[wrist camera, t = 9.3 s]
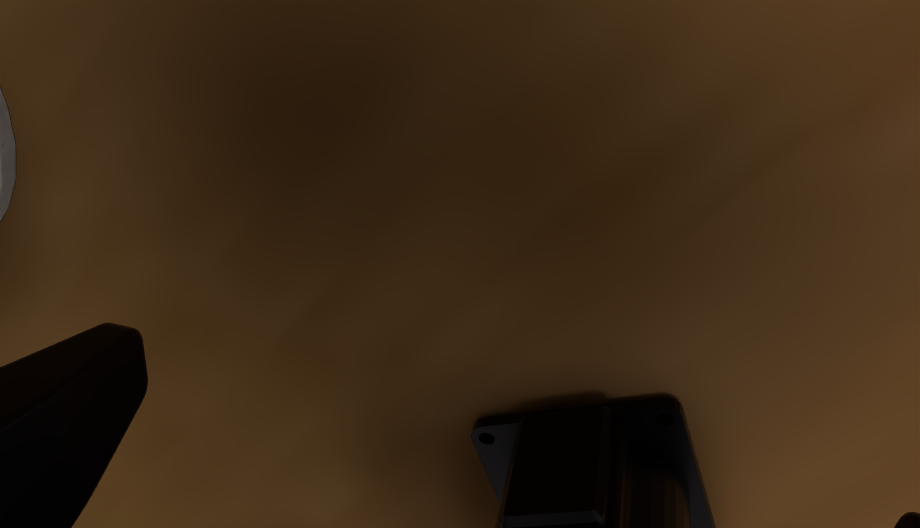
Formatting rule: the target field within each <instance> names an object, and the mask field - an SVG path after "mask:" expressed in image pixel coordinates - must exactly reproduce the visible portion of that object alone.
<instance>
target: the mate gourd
mask: <svg viewBox="0 0 920 528" xmlns="http://www.w3.org/2000/svg"><path fill="white" fill-rule="evenodd" d="M15 180H16V144H15V140H14V135H13V130H12V125H11V121H10V116H9V111H8V106H7V104H6V101H5V99H4V96H3V94H2V91H1V89H0V221H1V219H2V218H3V216H4V214H5V213H6V211H7V209H8V208H9V205H10V200H11V196H12V192H13V188H14V184H15Z"/></svg>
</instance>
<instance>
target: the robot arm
mask: <svg viewBox="0 0 920 528" xmlns="http://www.w3.org/2000/svg"><path fill="white" fill-rule="evenodd" d="M147 385H148V375H147V368H146V360H145V352H144V345H143V339H142V335H141V334H140V332H139V331H138V330H136V329H135V328H131V327H127V326H122V325H118V324H114V323H104V324H101V325H98V326H96V327H93V328H91V329H89V330H86V331H84V332H82V333H79V334H77V335H75V336H72V337H70V338H68V339H65V340H63V341H61V342H58V343H56V344H54V345H51V346H49V347H47V348H44V349H42V350H40V351H37V352H35V353H33V354H30V355H28V356H26V357H23V358H21V359H19V360H16V361H14V362H12V363H9V364H7V365H5V366H2V367H0V528H71V527H72V526H73V524H74V523H75V521H76V520H77V518H78V517H79V515H80V514H81V512H82V511H83V509H84V507H85V506H86V504H87V503H88V501H89V499H90V497H91V496H92V494H93V492H94V490H95V489H96V487H97V485H98V483H99V481H100V480H101V478H102V476H103V474H104V472H105V470H106V468H107V466H108V465H109V463H110V461H111V459H112V457H113V455H114V453H115V451H116V450H117V448H118V446H119V444H120V442H121V440H122V438H123V436H124V435H125V433H126V431H127V429H128V427H129V425H130V423H131V422H132V420H133V418H134V416H135V414H136V412H137V410H138V408H139V407H140V405H141V403H142V401H143V399H144V397H145V394H146V390H147ZM662 413H667V414H670V415H671V416H668V417H663V416H661V415H659V414H662ZM484 433H489V434H491V435H486V434H484ZM471 439H472V442H473V444H474V446H475V448H476V451H477V453H478V455H479V457H480V460H481V462H482V464H483V466H484V469H485V471H486V473H487V475H488V477H489V480H490V482H491V484H492V486H493V489H494V491H495V493H496V495H497V498H498V500H499V502H500V509H499V514H498V518H497V523H496V528H715V524H714V521H713V517H712V513H711V510H710V506H709V502H708V499H707V495H706V491H705V488H704V484H703V480H702V477H701V473H700V470H699V466H698V462H697V459H696V455H695V451H694V448H693V444H692V440H691V437H690V433H689V429H688V426H687V422H686V418H685V415H684V411H683V408H682V406H681V404H680V403H679V402H677V401H676V400H674V399H671V398H663V397H661V398H653V399H644V400H635V401H626V402H618V403H609V404H600V405H592V406H583V407H574V408H565V409H557V410H548V411H539V412H531V413H522V414H513V415H504V416H496V417H487V418H482V419H479V420H477V421H476V422H475V424H474V426H473V430H472V434H471ZM894 528H920V513H916V512H908V513H906V514H904V515H903V516H902V517H901V518H900V519H899V521H898V522H897V524H896V525H895V527H894Z"/></svg>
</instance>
